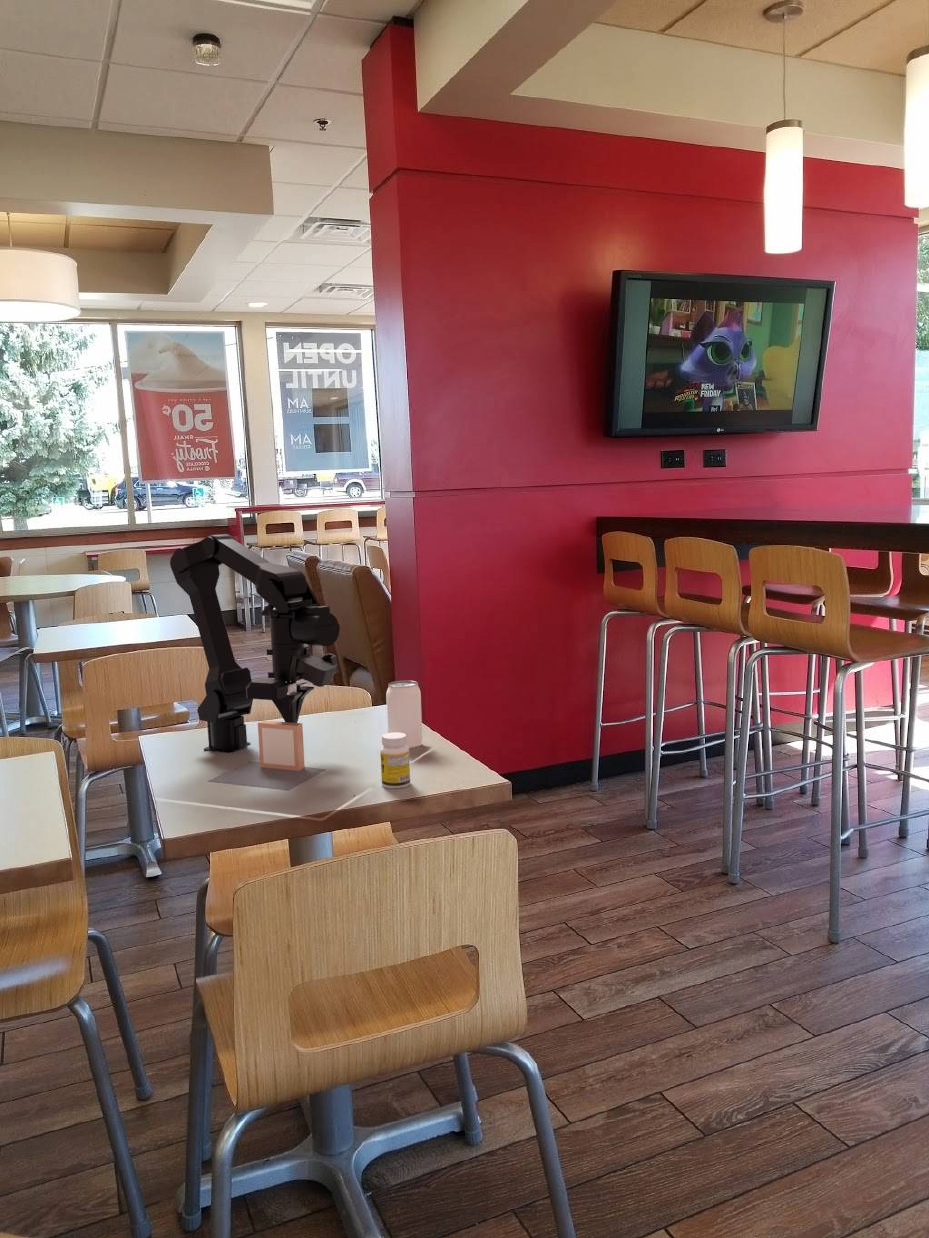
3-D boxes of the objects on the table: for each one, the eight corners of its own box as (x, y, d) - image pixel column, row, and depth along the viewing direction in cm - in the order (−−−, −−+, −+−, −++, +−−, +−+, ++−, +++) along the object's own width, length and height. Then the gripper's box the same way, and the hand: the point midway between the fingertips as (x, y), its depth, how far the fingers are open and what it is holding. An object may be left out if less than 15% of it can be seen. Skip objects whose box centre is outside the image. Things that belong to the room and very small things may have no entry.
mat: (207, 783, 158) (207, 780, 158) (249, 763, 169) (249, 761, 169) (288, 792, 152) (288, 790, 152) (326, 771, 163) (326, 769, 163)
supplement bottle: (383, 780, 157) (381, 731, 156) (411, 780, 157) (409, 731, 156) (380, 789, 152) (377, 739, 151) (409, 789, 152) (407, 738, 151)
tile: (260, 767, 165) (257, 722, 164) (266, 764, 167) (263, 720, 166) (299, 771, 162) (296, 726, 161) (304, 768, 164) (302, 723, 163)
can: (417, 750, 174) (415, 687, 173) (384, 749, 176) (381, 686, 174) (426, 741, 181) (424, 680, 179) (393, 740, 182) (391, 679, 180)
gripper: (298, 652, 154) (303, 745, 156) (353, 635, 171) (357, 718, 173) (241, 650, 158) (247, 740, 160) (300, 633, 175) (305, 715, 177)
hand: (292, 728), depth 167 cm, fingers closed
